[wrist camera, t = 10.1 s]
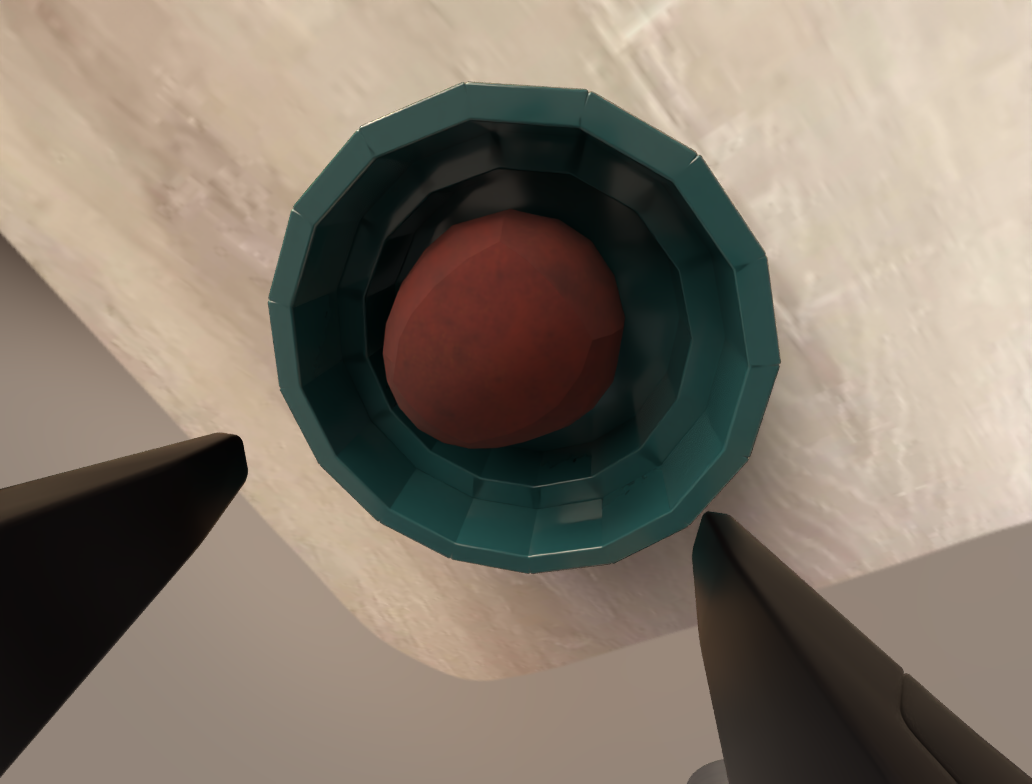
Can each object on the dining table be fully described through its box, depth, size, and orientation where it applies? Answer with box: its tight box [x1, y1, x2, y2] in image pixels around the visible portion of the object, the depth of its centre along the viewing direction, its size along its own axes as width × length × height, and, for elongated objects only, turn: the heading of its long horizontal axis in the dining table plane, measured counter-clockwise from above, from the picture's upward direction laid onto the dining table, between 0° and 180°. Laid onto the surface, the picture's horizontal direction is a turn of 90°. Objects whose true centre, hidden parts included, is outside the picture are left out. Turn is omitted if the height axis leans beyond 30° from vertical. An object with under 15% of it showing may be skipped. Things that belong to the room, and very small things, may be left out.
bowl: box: [268, 82, 781, 574], centre depth 17 cm, size 15×15×6 cm
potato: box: [383, 209, 625, 449], centre depth 16 cm, size 7×8×7 cm
